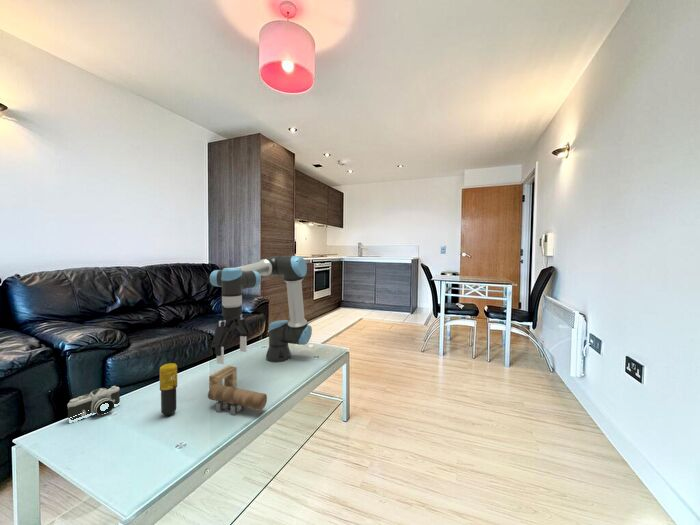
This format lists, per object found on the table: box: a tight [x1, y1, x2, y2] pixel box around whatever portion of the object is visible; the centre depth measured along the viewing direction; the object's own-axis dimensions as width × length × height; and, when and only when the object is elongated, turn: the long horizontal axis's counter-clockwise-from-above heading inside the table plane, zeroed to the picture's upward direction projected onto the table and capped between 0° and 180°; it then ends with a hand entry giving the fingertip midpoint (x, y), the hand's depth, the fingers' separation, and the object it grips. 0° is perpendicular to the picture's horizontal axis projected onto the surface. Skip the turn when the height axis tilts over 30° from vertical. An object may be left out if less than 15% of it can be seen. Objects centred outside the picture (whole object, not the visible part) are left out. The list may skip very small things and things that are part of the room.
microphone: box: [159, 362, 178, 418], centre depth 111 cm, size 6×13×20 cm, turn 84°
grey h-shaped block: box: [215, 401, 246, 416], centre depth 115 cm, size 8×9×4 cm
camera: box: [66, 385, 121, 420], centre depth 110 cm, size 16×9×10 cm, turn 149°
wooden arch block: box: [208, 365, 238, 390], centre depth 131 cm, size 5×12×9 cm, turn 163°
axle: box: [207, 384, 268, 411], centre depth 114 cm, size 24×6×6 cm, turn 73°
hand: (232, 357), depth 114 cm, fingers open, 13 cm apart
